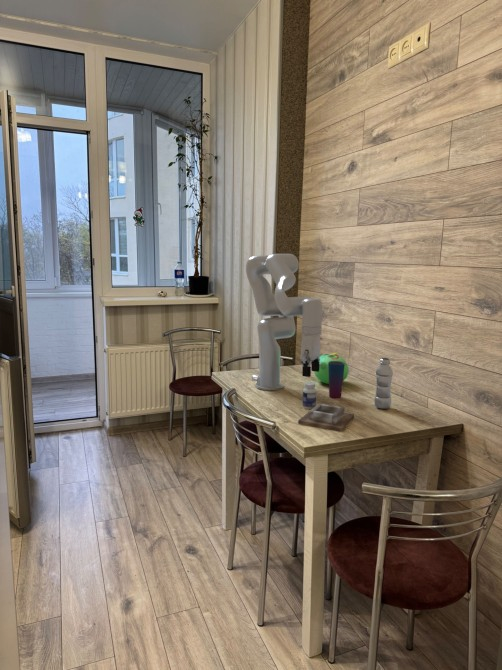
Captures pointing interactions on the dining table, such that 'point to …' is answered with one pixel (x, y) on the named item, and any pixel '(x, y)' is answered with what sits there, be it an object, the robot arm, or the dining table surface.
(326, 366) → the green round vessel
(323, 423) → the square frame tray
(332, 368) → the cup
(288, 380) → the dining table surface
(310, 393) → the pill bottle
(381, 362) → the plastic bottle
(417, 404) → the dining table surface
